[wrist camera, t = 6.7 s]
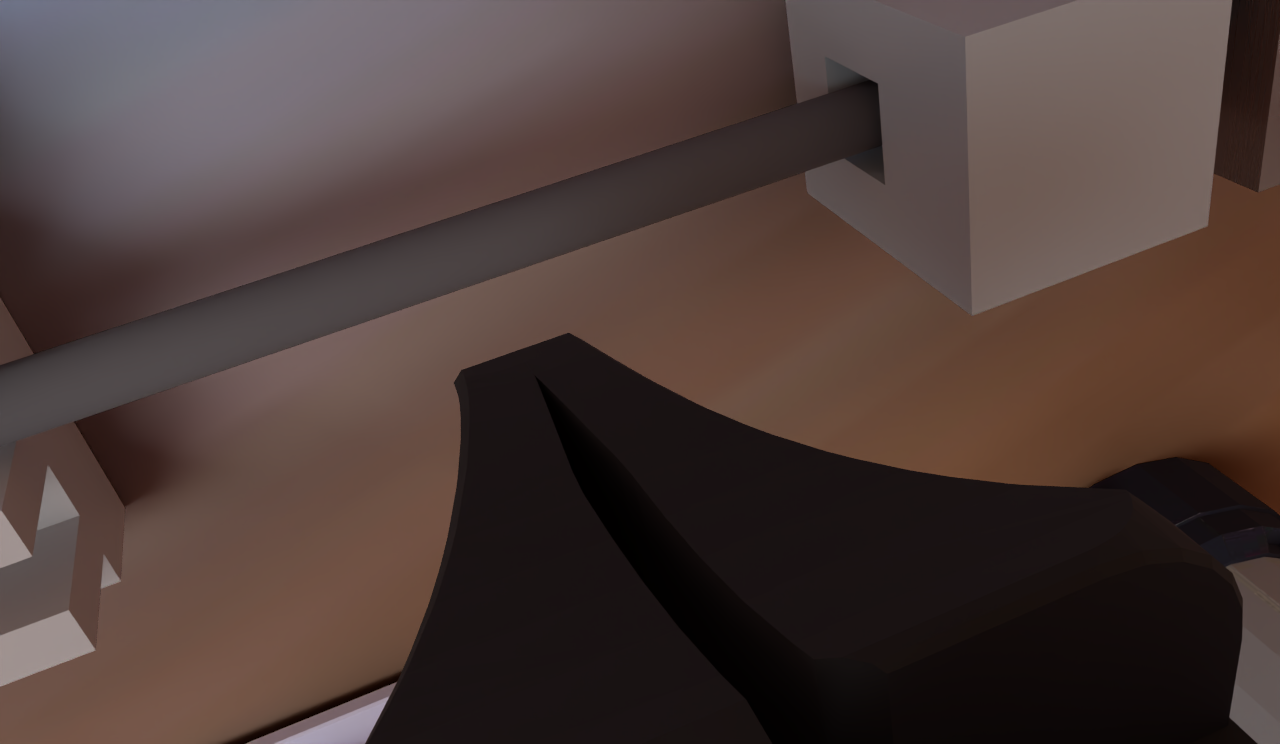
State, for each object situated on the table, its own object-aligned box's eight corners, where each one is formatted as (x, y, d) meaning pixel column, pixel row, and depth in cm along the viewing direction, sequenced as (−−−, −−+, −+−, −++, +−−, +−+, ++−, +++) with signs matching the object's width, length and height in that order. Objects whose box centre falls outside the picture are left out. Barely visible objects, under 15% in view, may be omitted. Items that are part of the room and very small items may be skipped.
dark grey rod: (-10, 469, 17) (-47, 626, 14) (-147, 262, 15) (-226, 396, 12) (1153, 68, 21) (1314, 125, 18) (1169, -137, 19) (1352, -111, 16)
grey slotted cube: (807, 193, 20) (972, 315, 16) (781, -37, 17) (965, 36, 13) (1002, 126, 20) (1208, 226, 16) (1000, -103, 18) (1237, -52, 14)
